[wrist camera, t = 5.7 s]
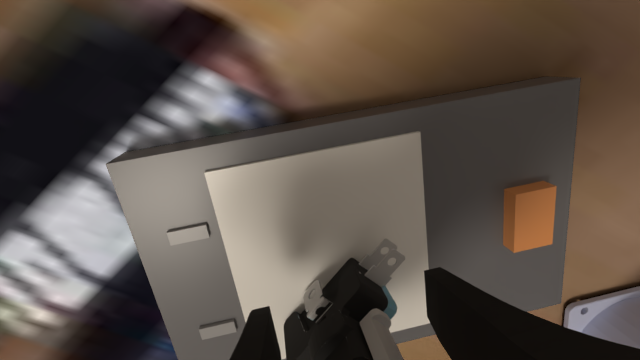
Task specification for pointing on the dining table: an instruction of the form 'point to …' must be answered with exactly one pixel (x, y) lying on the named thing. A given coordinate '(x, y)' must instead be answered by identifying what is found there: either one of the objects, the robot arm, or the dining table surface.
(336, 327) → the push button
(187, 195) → the control panel
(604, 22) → the dining table surface
